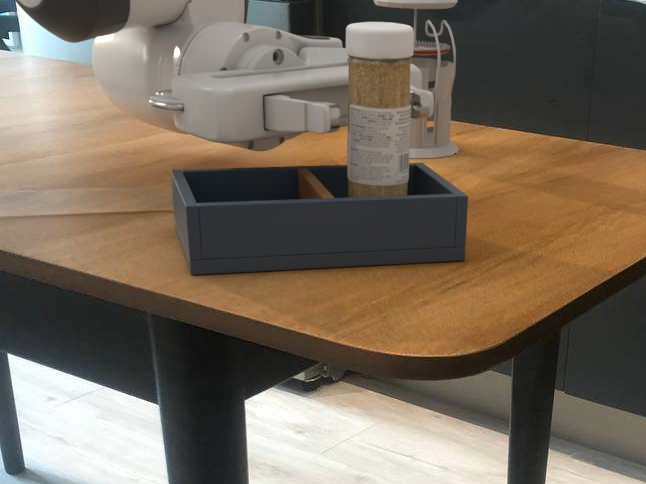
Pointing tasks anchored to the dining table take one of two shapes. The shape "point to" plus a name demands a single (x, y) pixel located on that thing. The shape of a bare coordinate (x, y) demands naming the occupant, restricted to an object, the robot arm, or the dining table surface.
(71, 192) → the dining table surface
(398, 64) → the spice jar
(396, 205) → the blue-grey divided tray
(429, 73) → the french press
